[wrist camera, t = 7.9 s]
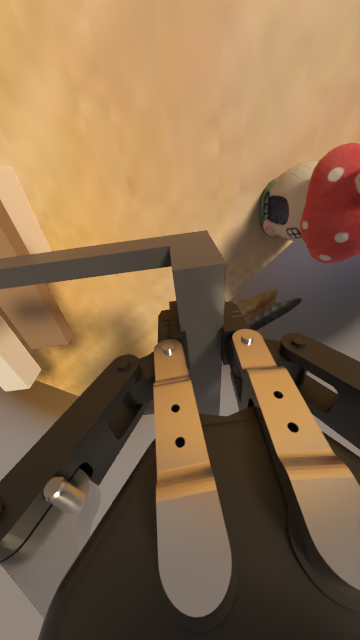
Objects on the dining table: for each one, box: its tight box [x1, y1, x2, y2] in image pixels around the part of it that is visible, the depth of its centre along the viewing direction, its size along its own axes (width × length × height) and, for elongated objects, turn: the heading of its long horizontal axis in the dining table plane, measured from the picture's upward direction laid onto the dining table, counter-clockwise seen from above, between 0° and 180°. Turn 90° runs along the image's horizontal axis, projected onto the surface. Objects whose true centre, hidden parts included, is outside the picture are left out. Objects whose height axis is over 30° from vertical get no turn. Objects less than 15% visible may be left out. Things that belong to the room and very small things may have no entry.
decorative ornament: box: [260, 143, 360, 263], centre depth 20 cm, size 9×7×15 cm
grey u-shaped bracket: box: [0, 230, 226, 416], centre depth 14 cm, size 13×16×4 cm
